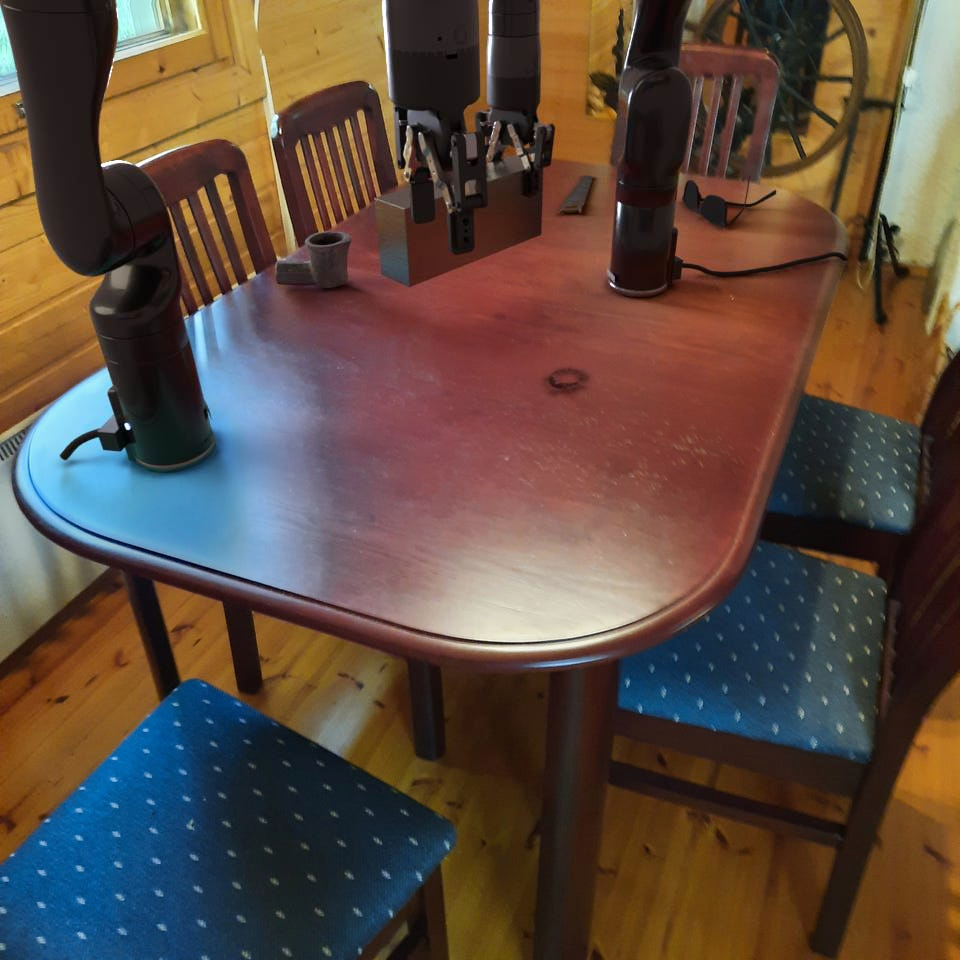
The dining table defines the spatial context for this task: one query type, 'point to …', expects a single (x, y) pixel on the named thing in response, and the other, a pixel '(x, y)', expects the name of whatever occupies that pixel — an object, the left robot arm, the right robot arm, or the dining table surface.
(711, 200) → the sunglasses
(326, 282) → the pipe
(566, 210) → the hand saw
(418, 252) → the box
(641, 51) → the right robot arm
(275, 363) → the dining table surface
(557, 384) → the necklace
